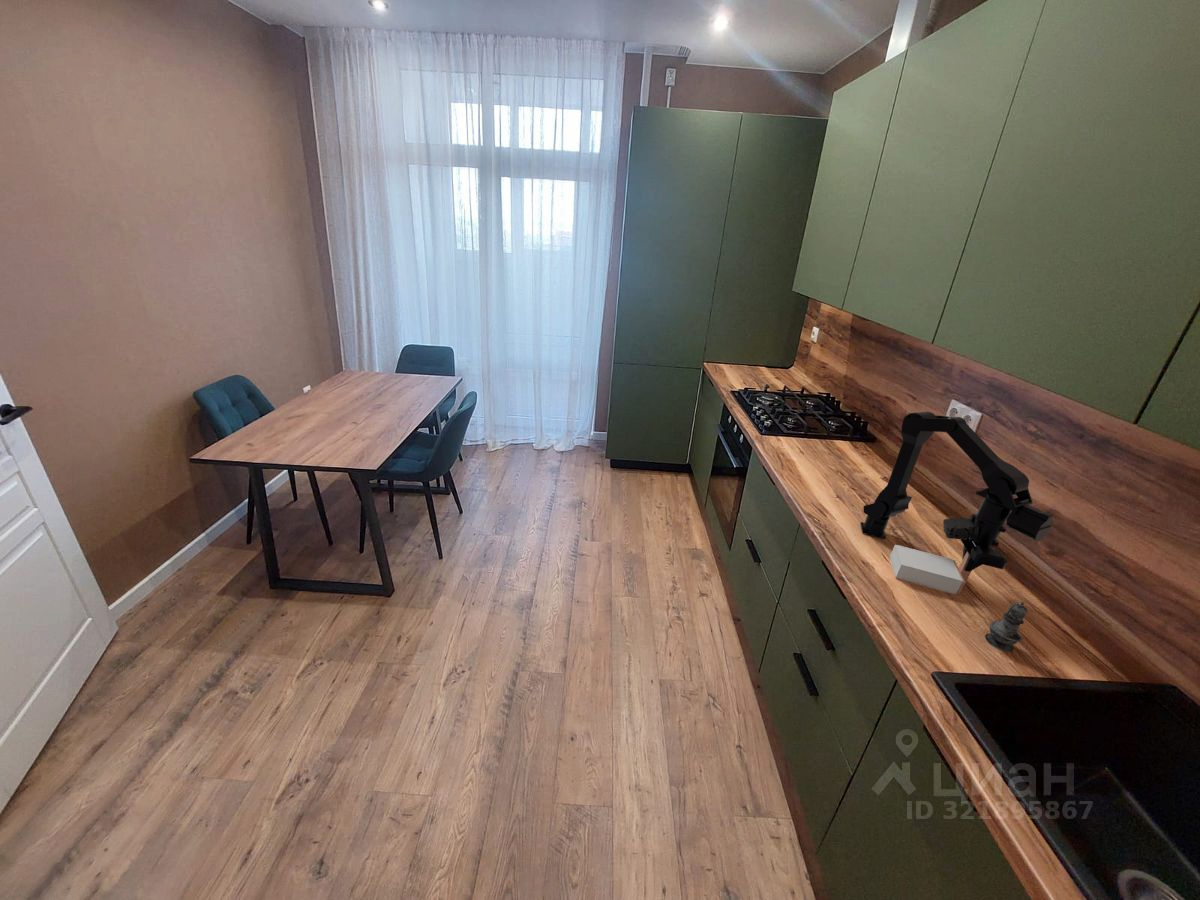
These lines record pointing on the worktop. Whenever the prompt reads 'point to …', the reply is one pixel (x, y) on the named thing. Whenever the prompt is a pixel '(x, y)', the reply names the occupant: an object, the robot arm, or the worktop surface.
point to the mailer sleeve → (925, 569)
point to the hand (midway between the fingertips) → (965, 568)
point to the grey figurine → (1007, 628)
